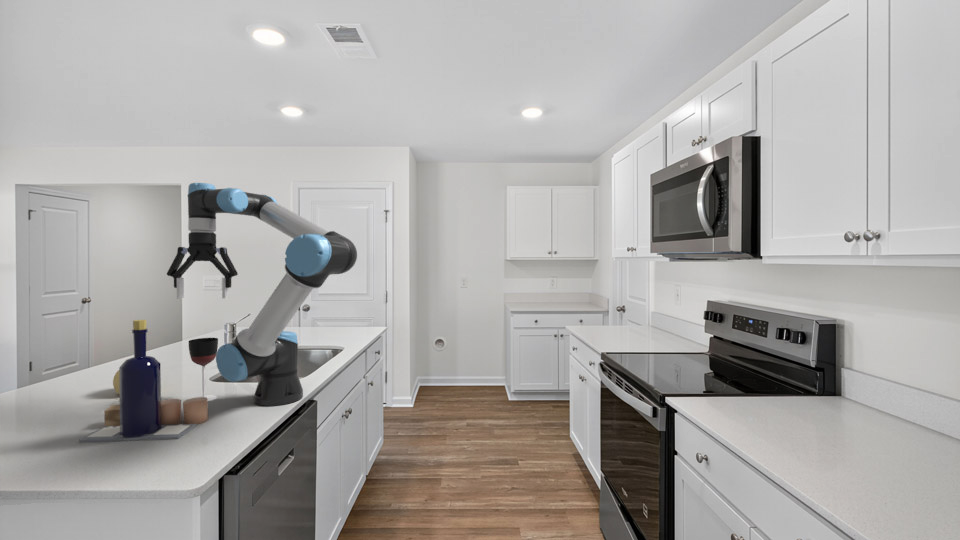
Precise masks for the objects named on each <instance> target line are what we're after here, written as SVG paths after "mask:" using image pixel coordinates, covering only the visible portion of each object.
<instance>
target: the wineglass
mask: <svg viewBox="0 0 960 540" xmlns="http://www.w3.org/2000/svg"><path fill="white" fill-rule="evenodd" d="M218 346H219V338H218V337H202V338H201V337H199V338H194V339H190V340H188V352H189V357H190V359H191V362H193V363H194V364H196V365H199V366H200V367H201V366H202V368H201V369H202V396H201V395H200V396H199V397H206V398H207V401H208V402H209V401H210V402H211V401H214V400H216V399H217V398H218V397H217V396H216V395H208V394H207V395H206V366H207V365H209V364H210V363H212V362H213V361H214V360H216V354H217V351H218V349H219V348H218ZM197 397H198V396H196V397H195V398H197Z"/></svg>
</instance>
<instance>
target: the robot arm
mask: <svg viewBox="0 0 960 540" xmlns="http://www.w3.org/2000/svg"><path fill="white" fill-rule="evenodd" d="M187 207H188V208H187V215H188V225H187V227H188V229H187V230H188V231H189V233H188V247H185V246H179V247H177V252H176V256H174V259H173V261H172V263H171V265H170V267H169V269H168V270H167V272H166V275H167V276H168V277H172V279H173V288H175V289H176V299H184V298H185V279H184V277H182V276H183V275H184V274H185V272H187V270H188V269H189V268H190V267H191V266H192V265H193V264H194V263H195V262H209V263H212V265H214V267H215V268H216V269H217V270H218V271H219V273H220V274H222V275H223V277H222V279H221V281H222V282H221V285H222V286H221V287H222V288H221V291H222V293H221V296H222V299H229V294H230V293H229V289H231V288H232V278H233V277H237V276H238V274H239V273H238V271H237V269H236V267H235V266H234V263H233V262H232V260H231V258H230V256H229V254H228V248H227V247H225V246H224V247H223V246H221V247H217V234H216V233H215V232H217V216H216V215H217V214H231V215H241V216H248V217H249V216H250V217H255V218H257V219H259V220H260V221H262V222H264V223H266V224H267V225H270V226H271V227H272V228H275V229H276V230H278V231H280V232H281V233H283V234H285V235H287V236H288V237H290V239H291V238H292V240H291V241H290V242H289V243H288V245H287V247H286V248H285V252H284V254H285V255H286V256H285V257H284V262H285V264H284V270H285V274H284V276H283V277H282V279H281V280H280V282H279V283H278V285H277V286H276V288H275V289H274V290H273V292H272V294H271V295H270V297H269V298H268V299H267V300H266V302H265V303H264V305H263V306H262V308H261V310H260V311H259V312H258V314H257V316H256V317H255V319H254V320H253V321H252V322H251V324H250V325H249V328H244V329H242V330H240V331H239V332H238V333H237V335H236V336H235V338H234V340H233V341H232V342H231V343H229V342H228V343H225V344H223V345H221V346H220V347H219V348H217V354H216V357H215V363H216V367H217V369H218V373H220V375H221V376H222V377H223V378H224V379H225V380H226V381H228V382H240V381H242V382H243V381H245V380H248V379H251V378H254V377H256V376H257V377H258V376H259V379H258V382H257V385H256V389H255V391H254V394H253V403H254V404H257V405H260V406H266V407H267V406H269V407H270V406H271V407H272V406H273V407H274V406H282V405H287V404H292V403H295V402H298V401H299V400H301V399H303V397H304V390H303V386H302V384H301V380H300V377H299V375H298V374H299V373H298V360H299V359H298V354H299V353H298V349H299V347H298V345H299V343H298V335H297V333H296V332H294V331H288V330H286V331H285V329H286V327H287V326H288V325H289V323H290V322H291V320H292V319H293V317H294V316H295V314H296V313H297V312H298V310H299V309H300V308H301V306H302V305H303V303H304V302H305V301H306V299H307V298H308V296H309V295H310V294H311V292H312V290H314V289H318V288H321V287H322V285H324V283H325V282H326V280H327V279H328V278H329V276H332V275H340V274H341V275H342V274H345V273H346V272H348V271H350V270H351V269H352V268H353V267H354V266H355V264H356V261H357V258H358V251H357V248H356V245H355V244H354V243H353V242H352V240H350V239H349V238H347V237H346V236H344V235H342V234H340V233H339V232H336V231H334V230H329V231H328V230H326V229H324V228H323V227H321V226H318V225H317V224H315V223H313V222H312V221H310V220H308V219H306V218H305V217H303V216H300V215H299V214H297V213H295V212H294V211H291V210H289V209H288V208H286V207H285V206H282V205H280V204H278V202H277V200H276V199H275V198H274V197H272V196H268V195H267V194H258V193H253V192H252V193H251V192H248V191H243V190H242V189H239V188H234V187H233V188H232V187H227V188H218V189H217V188H216V185H214V184H212V183H206V182H192V183H190V184H189V185H188V190H187ZM217 253H218V255H219V256H220V258H221V259H222V262H223V263H224V265H225V266H224V265H223V264H222V262H221V261H220V260H219V258H218V257H217V256H216V254H217ZM187 254H189V256H188V257H187V258H186V260H185V261H184V262H183V260H184V259H185V257H186V256H185V255H187ZM181 264H182V265H181Z"/></svg>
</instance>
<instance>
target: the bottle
mask: <svg viewBox="0 0 960 540" xmlns="http://www.w3.org/2000/svg"><path fill="white" fill-rule="evenodd" d="M132 328H133V329H131V333H132V335H133V357H130V358H127V359H126V360H124V362H123V363H122V364H121V365H120V366H119V368H118V370H119V391H120V394H119V404H120V435H121V436H123V437H137V436H143V435H146V434H150V433H154V432H156V431H157V430H159V429H160V428H161V401H162V391H161V390H162V388H161V387H162V384H161V381H162V378H161V375H162V374H161V362H160V361H158V359H156V358H155V356H151V355H147V333H148V328H147V319H135V320H132Z"/></svg>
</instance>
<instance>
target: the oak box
mask: <svg viewBox="0 0 960 540" xmlns="http://www.w3.org/2000/svg"><path fill="white" fill-rule="evenodd" d="M103 415H104V427H105V426H120V403H119V404H112V405H110V406H109V407H108V408H106V409H105V410H104V414H103Z"/></svg>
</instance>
